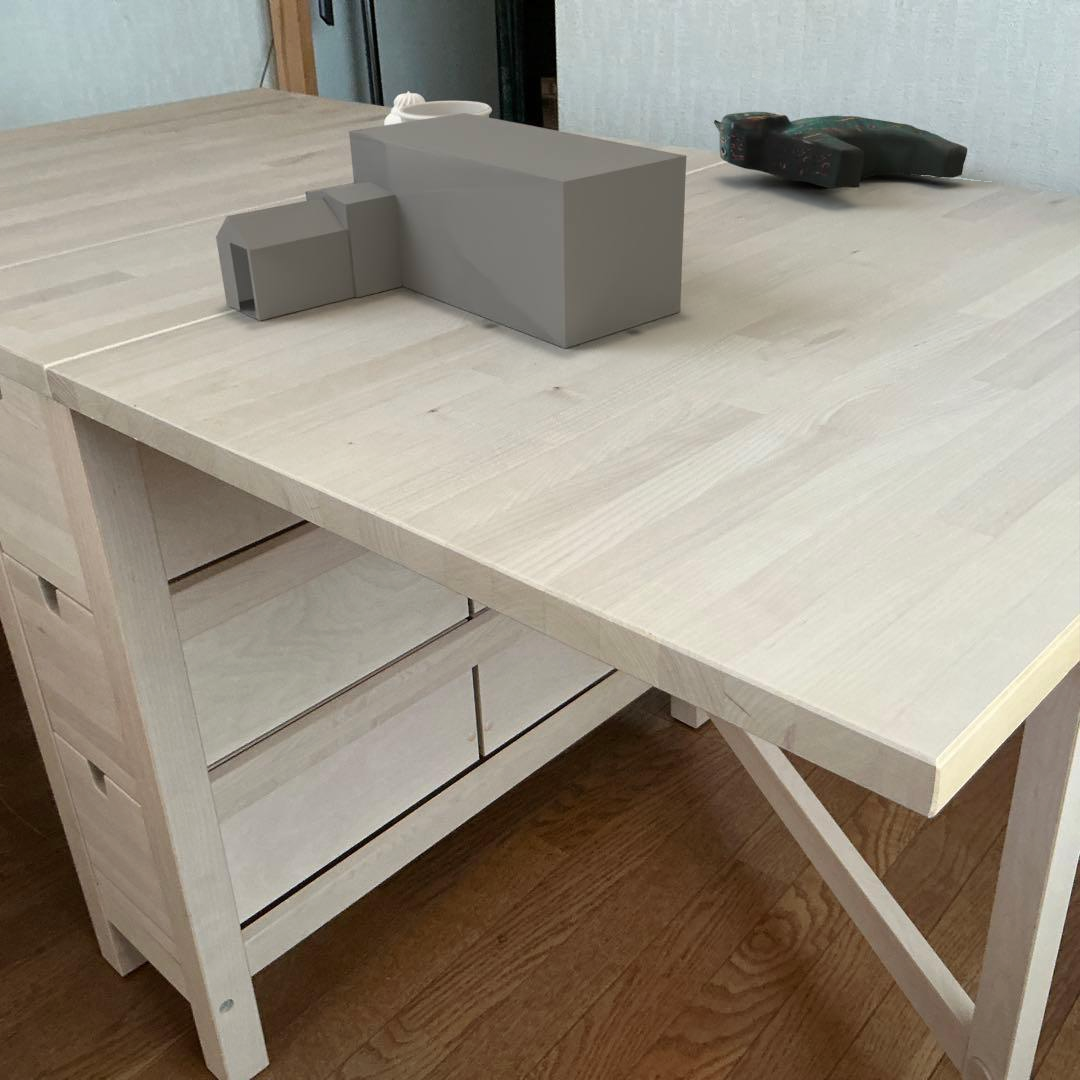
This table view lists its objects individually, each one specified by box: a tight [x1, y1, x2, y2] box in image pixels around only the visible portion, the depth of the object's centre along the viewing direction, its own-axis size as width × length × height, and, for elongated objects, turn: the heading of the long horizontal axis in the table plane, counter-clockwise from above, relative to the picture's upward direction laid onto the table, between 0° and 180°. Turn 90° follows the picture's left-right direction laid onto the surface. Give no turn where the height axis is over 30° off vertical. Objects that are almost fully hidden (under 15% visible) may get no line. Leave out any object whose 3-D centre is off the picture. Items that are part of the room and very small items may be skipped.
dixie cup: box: [398, 100, 493, 123], centre depth 105 cm, size 8×8×10 cm
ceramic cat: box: [713, 111, 968, 189], centre depth 117 cm, size 20×6×20 cm
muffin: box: [383, 90, 426, 126], centre depth 133 cm, size 6×6×7 cm
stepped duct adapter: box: [215, 113, 687, 349], centre depth 83 cm, size 25×23×11 cm
